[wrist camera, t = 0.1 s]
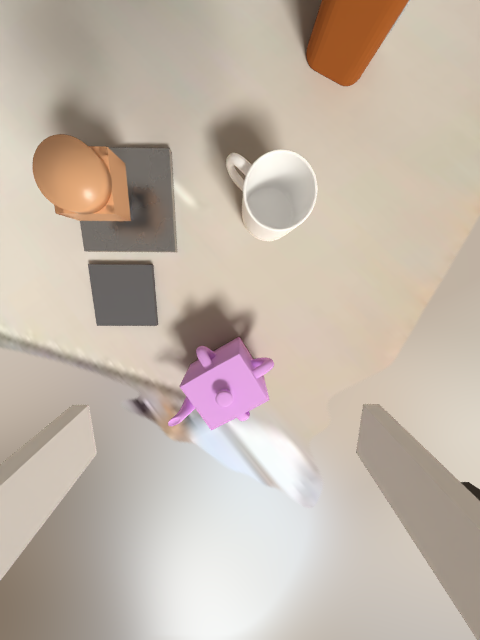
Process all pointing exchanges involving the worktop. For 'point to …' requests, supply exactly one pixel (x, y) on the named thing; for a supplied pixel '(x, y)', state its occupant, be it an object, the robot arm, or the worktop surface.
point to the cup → (274, 192)
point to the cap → (82, 179)
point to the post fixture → (140, 207)
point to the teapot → (224, 384)
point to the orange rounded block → (350, 36)
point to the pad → (124, 295)
